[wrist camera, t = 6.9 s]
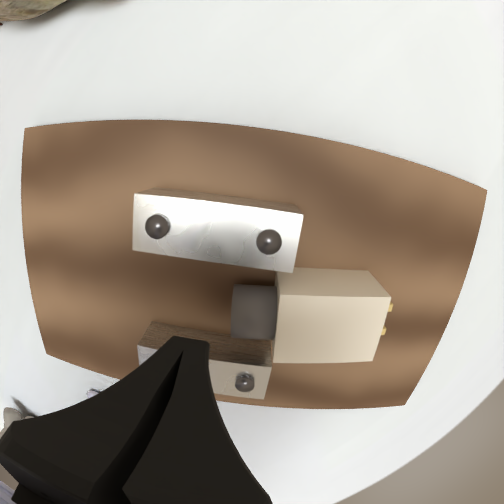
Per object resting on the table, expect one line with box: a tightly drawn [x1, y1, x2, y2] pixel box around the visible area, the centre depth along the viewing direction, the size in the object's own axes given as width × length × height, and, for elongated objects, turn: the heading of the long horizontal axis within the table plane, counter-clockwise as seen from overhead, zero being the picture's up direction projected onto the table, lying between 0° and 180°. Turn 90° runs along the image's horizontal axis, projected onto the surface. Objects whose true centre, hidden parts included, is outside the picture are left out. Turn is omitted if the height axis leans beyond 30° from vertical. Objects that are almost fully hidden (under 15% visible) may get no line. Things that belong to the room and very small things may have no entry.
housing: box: [133, 187, 303, 399], centre depth 14 cm, size 10×7×3 cm
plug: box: [231, 267, 393, 363], centre depth 14 cm, size 8×4×3 cm, turn 87°
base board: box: [21, 120, 487, 409], centre depth 16 cm, size 17×29×1 cm, turn 82°
